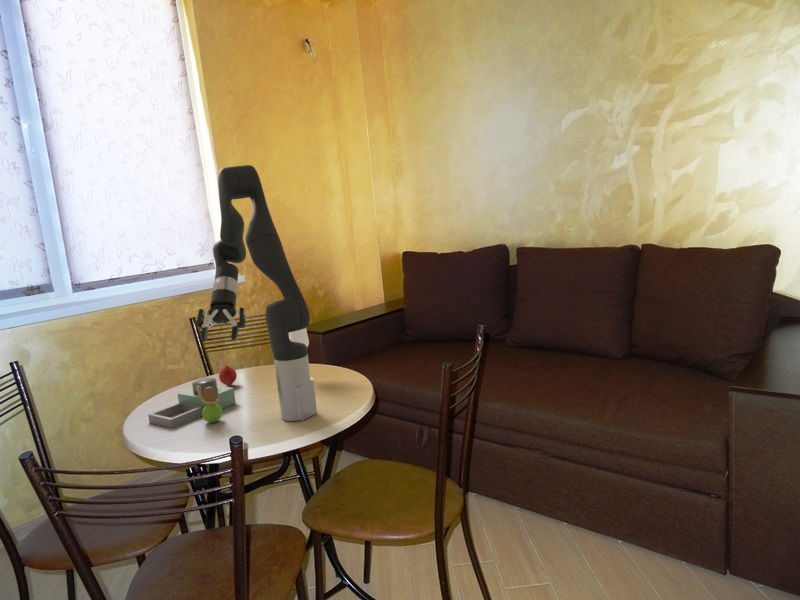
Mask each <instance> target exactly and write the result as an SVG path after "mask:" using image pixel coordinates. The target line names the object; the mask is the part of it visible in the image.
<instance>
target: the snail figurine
mask: <svg viewBox="0 0 800 600" xmlns="http://www.w3.org/2000/svg"><path fill="white" fill-rule="evenodd" d="M197 383H198V382H195V384H197ZM196 390H197V392H198V395H199V398H200V399H201V401H202V402H203V403H205V404H208V405H206V406H205V407H204V408H203V411H202V416H201V417H202V418H203V420H204V421H205V422H207V423H210V424H213V423H216V422H218V421H219V420H221V418H222V415H223V409H222V408H221V407H220V406H219V405H218V404H216V403H218V401H219V400H216V399H217V397H218V392H217V390H216V389H215V388H213V387H207V388H205V389H204V391H203V394H202V391H201V387H200V386H196Z"/></svg>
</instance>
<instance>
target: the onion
mask: <svg viewBox="0 0 800 600" xmlns="http://www.w3.org/2000/svg"><path fill="white" fill-rule="evenodd" d="M218 380H219V381H220V383H222V384H223V385H224V386H226V387H231V386H232V385H233V383H234V382H235V381H236V380H237V372H236V370H235V368H233V367H231V366H229V364H228V363H225V365H224V366H223V367H222V369H220V372H219V374H218Z"/></svg>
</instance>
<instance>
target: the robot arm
mask: <svg viewBox="0 0 800 600" xmlns="http://www.w3.org/2000/svg"><path fill="white" fill-rule="evenodd" d="M217 187H218V200H219V201H218V202H219V208H220V209H219V210H220V217H221V218H220V219H221V220H220V231H219V237H220V240H219V239H218V240H217V241H216V242H215V243H214V244H213V247H212V255H213V257H214V258H213V259H214V262H215V276H214V280H213V281H214V282H213V284H212V291H211V300H210V307H209V309H208V310H205V309H202V308H200V309H198V313H197V319H196V321H195V322H196V323H195V325H196V327H197V328H198V329H199V330H201V333H200V338H201V339H202V340H203V342H205V343H206V342H207V341H208V335H209V330H210V328H211V327H214V326H215V325H216V324H217V325H220V324H228V323H229V324H230V325H231V327H232V328H231V338H230V339H231V340H232V341H236V339H237V338H238V336H239V330H240V329H243V328H245V327H246V310H245V309H244V307H240V308H237V309H236V306H237V298H238V297H237V296H238V279H239V268H238V266H236V265H235V264H241V263H243V262H244V261H245V260H246V257H247V249H248V251H249V255H250V258H251V261H252V263H253V264H254V265H255V267H256V268H257V269H258V270H259V271H260V272H261V273H263V275H265V276H266V277H267V278H268V279H269V280H270V281H272V282H273V283H274V284H275V285H276V287H277V288H278V290H279V291H280V294H281V295H282V297H283V299H279V300H275V301H271V302H269V303H268V304H267V305H266V309H265V320H266V326H267V330H268V331H267V332H268V336H269V337H268V338H269V343H270V344H269V345H270V348H271V351H272V354H273V362H274V368H275V378H276V385H277V393H278V401H279V402H278V403H279V409H280V416H281V419H282V420H283V421H287V422H298V421H302V422H303V421H306V419H309V418H311V417H313V416H314V415H316V414H318V410H317V400H316V391H315V383H314V380H312V381H311V379H310V377H311V372H310V365H309V364H310V363H309V354H308V347H306V345H305V344H303V343H299V342H292V341H290V339H289V332H294V331H298V330H302V329H305V328H306V329H307V328H308V327H309V325H310V322H311V321H310V320H311V316H310V311H309V307H308V303H307V302H306V300H305V297H304V296H303V294H302V291H301V289H300V287H299V285H298V284H297V283H298V282H297V281H296V279H295V277H294V274H293V272H292V269H291V267H290V264H289V262H288V259H287V256H286V254H285V250H284V247H283V244H282V241H281V238H280V237H279V236H280V235H279V233H278V232H277V231H278V230H277V228H276V226H275V223H274V221H273V218H272V216H271V215H272V214H271V213H270V210H269V206H268V204H267V199H266V196H265V192H264V189H263V185H262V182H261V179H260V175H259V173H258V171H257V169H256V168H255V166H253V165H250V164H244V165H232V166H226V167H225V166H224V167H222V168H221V169H220V170H219V171H218V175H217ZM248 198H249V199H250V200H251V203H252V212H251V213H252V214H251V219H250V221H249V225H248V226H247V231H246V234H245V235H246V236H245V242H244V233H245V232H244V231H245V222H244V218H243V216H242V214H241V213H240V212H239V211H238V210H237V208H236V207H235V206H234V204H233V203H232V201H233V200H241V199H248ZM245 244H246V245H245ZM246 246H247V249H246ZM236 314H237V315H238V317H239V320H238V321H239V322H236V321H235V319H234V317H235V316H236ZM207 316H208V317H207ZM205 319H206V320H205Z"/></svg>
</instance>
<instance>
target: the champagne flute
mask: <svg viewBox="0 0 800 600" xmlns="http://www.w3.org/2000/svg"><path fill="white" fill-rule="evenodd" d="M288 335H289V339H290V341H292V342H299V343H303V344H305V345H306V347H307V348H308V347H309V345H310V340H309V336H308V335H309V334H308V331H307V327H306V328H305V329H302V330H298V331H294V332H289V333H288ZM310 379H311V380H312V381H314V377H312V376H310Z"/></svg>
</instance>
